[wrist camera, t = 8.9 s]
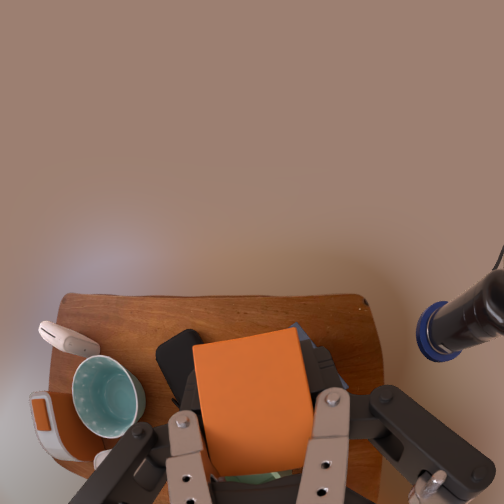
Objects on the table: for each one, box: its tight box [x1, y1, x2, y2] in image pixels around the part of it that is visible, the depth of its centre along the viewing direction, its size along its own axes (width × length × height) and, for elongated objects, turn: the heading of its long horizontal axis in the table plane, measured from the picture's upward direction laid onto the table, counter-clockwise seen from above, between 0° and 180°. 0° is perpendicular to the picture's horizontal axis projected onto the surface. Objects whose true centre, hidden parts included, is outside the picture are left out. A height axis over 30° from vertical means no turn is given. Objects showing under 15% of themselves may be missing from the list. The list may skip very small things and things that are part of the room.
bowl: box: [72, 355, 146, 438], centre depth 42 cm, size 16×16×8 cm
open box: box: [225, 470, 292, 485], centre depth 33 cm, size 10×10×10 cm
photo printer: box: [39, 321, 100, 358], centre depth 46 cm, size 10×4×12 cm, turn 76°
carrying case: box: [156, 329, 204, 409], centre depth 45 cm, size 11×3×15 cm
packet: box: [193, 327, 314, 477], centre depth 13 cm, size 4×5×10 cm
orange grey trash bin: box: [29, 391, 105, 462], centre depth 37 cm, size 15×8×14 cm, turn 18°
